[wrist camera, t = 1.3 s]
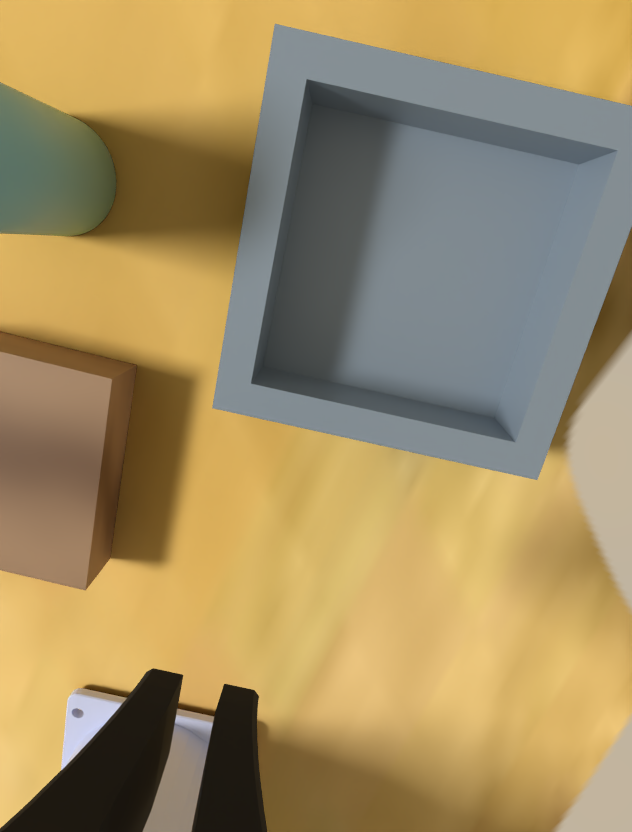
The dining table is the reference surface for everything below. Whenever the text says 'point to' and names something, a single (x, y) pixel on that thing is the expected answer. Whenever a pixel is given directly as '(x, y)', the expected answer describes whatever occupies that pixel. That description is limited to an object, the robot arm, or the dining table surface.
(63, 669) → the dining table surface
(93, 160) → the dowel
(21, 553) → the tan cardboard box
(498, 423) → the tray
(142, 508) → the dining table surface
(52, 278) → the dining table surface
